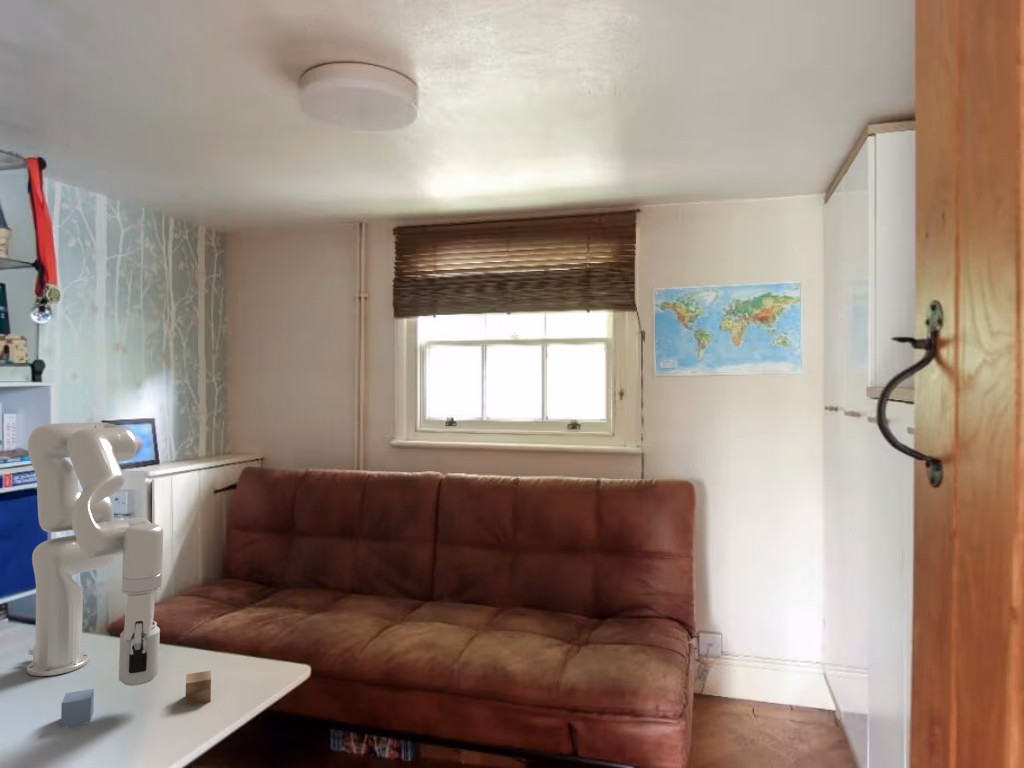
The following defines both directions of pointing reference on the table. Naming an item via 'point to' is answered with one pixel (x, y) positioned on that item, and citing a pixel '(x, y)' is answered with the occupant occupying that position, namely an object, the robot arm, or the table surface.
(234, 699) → the table surface
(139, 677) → the can
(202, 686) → the walnut block
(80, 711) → the slate block
